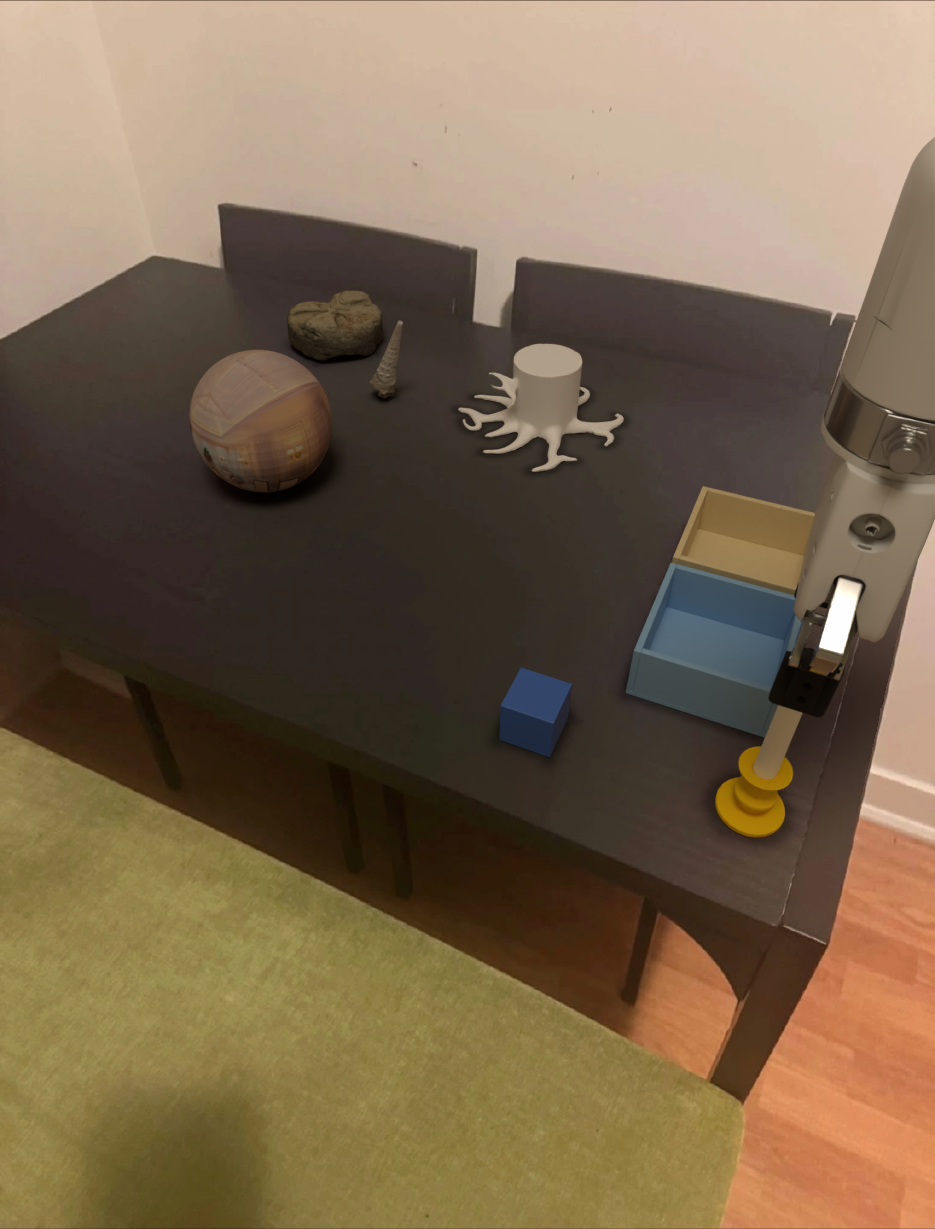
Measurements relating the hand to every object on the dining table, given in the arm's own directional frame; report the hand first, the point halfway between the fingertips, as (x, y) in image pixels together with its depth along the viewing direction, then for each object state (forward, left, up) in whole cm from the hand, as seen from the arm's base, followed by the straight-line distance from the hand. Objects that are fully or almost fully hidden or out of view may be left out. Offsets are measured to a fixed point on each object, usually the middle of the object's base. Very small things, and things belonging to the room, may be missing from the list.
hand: (807, 652), depth 54 cm
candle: (0, 0, -18) cm, 18 cm away
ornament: (+58, -22, -18) cm, 64 cm away
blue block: (+18, 0, -18) cm, 25 cm away
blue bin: (+6, -13, -18) cm, 23 cm away
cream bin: (+6, -26, -18) cm, 32 cm away
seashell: (+54, -43, -18) cm, 71 cm away
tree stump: (+34, -46, -18) cm, 60 cm away
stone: (+68, -54, -18) cm, 88 cm away
